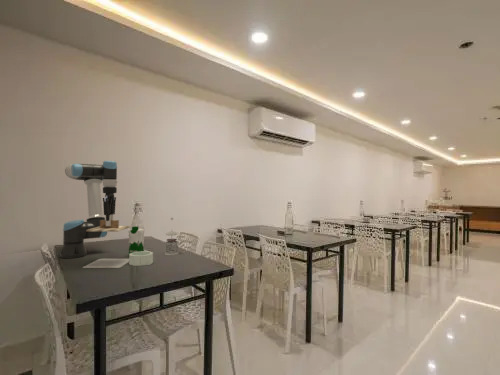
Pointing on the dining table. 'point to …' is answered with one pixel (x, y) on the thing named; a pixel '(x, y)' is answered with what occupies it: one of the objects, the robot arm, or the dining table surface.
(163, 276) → the dining table surface
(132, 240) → the milk carton
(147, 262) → the ceramic bowl
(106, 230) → the birch board
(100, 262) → the rubber mat
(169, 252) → the french press
